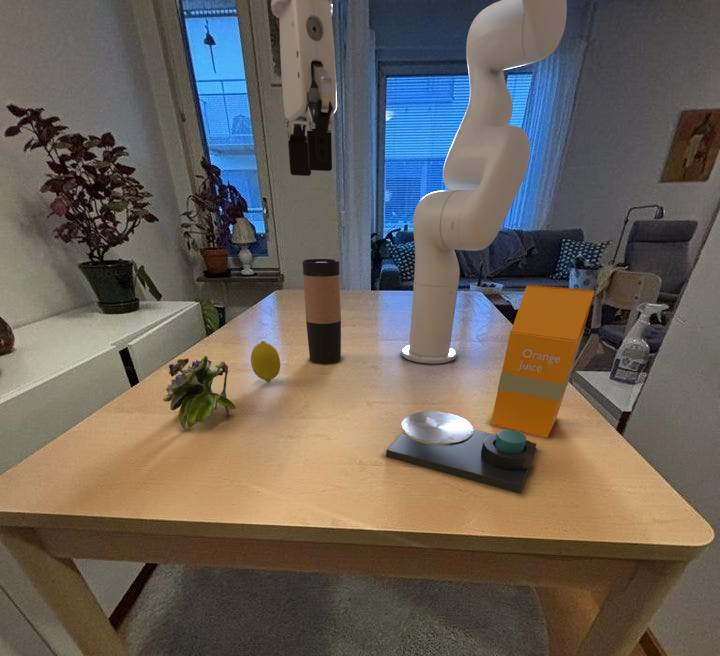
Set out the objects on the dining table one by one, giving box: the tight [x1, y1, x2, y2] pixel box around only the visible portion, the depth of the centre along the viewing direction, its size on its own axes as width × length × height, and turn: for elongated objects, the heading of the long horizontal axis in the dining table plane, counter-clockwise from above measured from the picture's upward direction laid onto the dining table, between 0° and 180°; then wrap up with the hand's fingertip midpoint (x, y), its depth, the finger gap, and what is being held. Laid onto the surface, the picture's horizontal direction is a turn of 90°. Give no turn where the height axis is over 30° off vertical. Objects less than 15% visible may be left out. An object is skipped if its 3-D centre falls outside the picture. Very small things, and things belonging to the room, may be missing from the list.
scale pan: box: [401, 410, 475, 446], centre depth 55 cm, size 10×10×1 cm
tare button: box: [495, 429, 527, 454], centre depth 51 cm, size 4×4×2 cm
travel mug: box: [302, 258, 342, 365], centre depth 85 cm, size 8×8×20 cm
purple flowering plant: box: [162, 355, 237, 431], centre depth 64 cm, size 11×11×12 cm
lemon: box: [250, 340, 281, 383], centre depth 76 cm, size 6×6×8 cm
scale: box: [385, 429, 537, 494], centre depth 55 cm, size 12×18×3 cm, turn 62°
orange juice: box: [490, 284, 596, 438], centre depth 59 cm, size 8×9×20 cm
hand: (310, 173), depth 57 cm, fingers open, 9 cm apart
